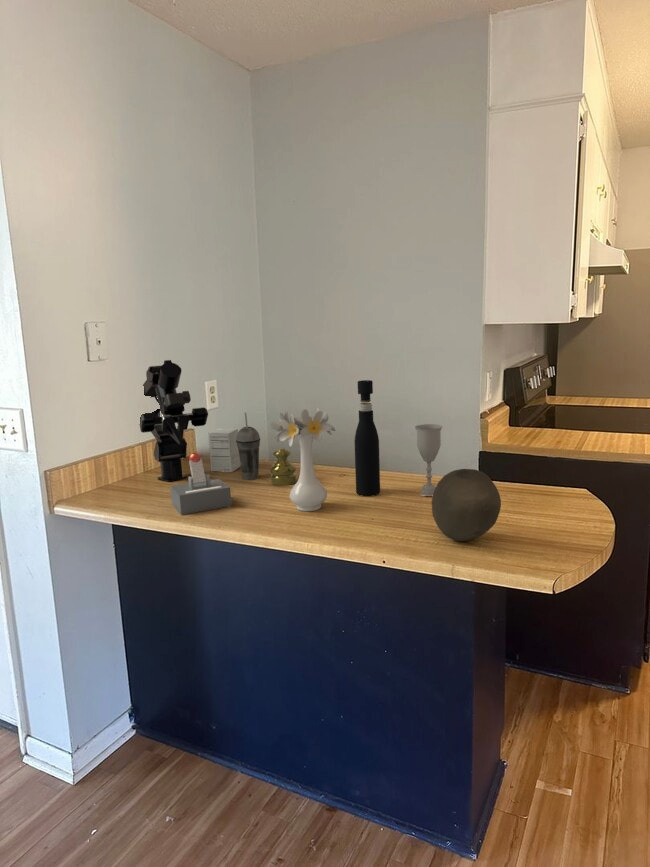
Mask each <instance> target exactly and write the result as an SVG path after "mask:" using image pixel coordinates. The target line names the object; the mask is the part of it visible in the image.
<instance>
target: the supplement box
mask: <svg viewBox="0 0 650 867" xmlns="http://www.w3.org/2000/svg"><path fill="white" fill-rule="evenodd" d="M238 432H239V428H223V427H222V428H218V427H217V428H215V429H214V430H212V431H210V432H208V445H209V446H208V447H209V448H208V449H209V459H210V461H209V462H210V470H211V472H213V471H224V472H223V473H233V472H234V471H236V470H237V469H239V468H241V463H240V457H239V451H238V447H237V442H236V437H237V434H238Z"/></svg>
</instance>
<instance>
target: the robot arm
mask: <svg viewBox="0 0 650 867" xmlns="http://www.w3.org/2000/svg"><path fill="white" fill-rule="evenodd" d="M145 375H146V380H145V381H144V383H143V384H142V385H143V386H144V395H145V396H151V397H150V398H155V400H156V403H157V402H158V403H159V405H160V409H157V410H156V411H154V412H152V413H145V414H142V415H141V417H140V424H139V429H140V432H141V433H151V434H152V436H153V437H154V438H155V440H156V441H155V445H154V449H153V456H154V460H155V461H157V462H158V463H160V464H159V465H160V471H161V472H160V473H161V476H157V478H156V479H157V480H159V481H160V480H161V481H163V482H169V483H170V482H173V481H175V482H176V481H177V480H182V479H185V478H187V477H188V476H187V475H185V474H183V465H182V459H187V448H188V447H187V446H188V443H187V441H186V439H185V438H184V431H187V429H188V427H189V422H191V425H192V426H194V427H202V426H203V427H204V426H205V425H207V419H208V416H209V411H208V409H207V408H206V407H205V406H204V407H194V408H192V410H191V412H189V413H184V412H185V411H186V410H185V409H186V408H185V405H186V404H190V402H191V400H192V399H191V394H190V391H189V390H184V391H182V392H177V388H178V387H179V384H180V378H181V375H182V368H181V366H180V365H178V364H177V363H175V362H172V360H171V359H166V360H164V361H163V364H160V365H152V366H151V365H150V366H149V367H148V368H147V370H146V372H145ZM157 398H158V399H157ZM160 411H161V417H160ZM176 424H177V426H176Z"/></svg>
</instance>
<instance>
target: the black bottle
mask: <svg viewBox="0 0 650 867" xmlns="http://www.w3.org/2000/svg"><path fill="white" fill-rule="evenodd" d="M373 385H374V383H373V380H371V379H369V380H368V379H367V380H365V379H363V380H362V379H361V380H358V381H357V394H358V395H360V403H359V410H358V423H357V427H356V430H355V434H354V464H355V465H354V466H355V467H354V469H355V470H354V471H355V493H357V494H358V496H360V495H363V496H362V497H373V496H372V495H375V496H378V495H380V494H379V493H381V475H380V473H381V472H380V471H381V470H380V469H381V468H380V466H381V465H380V438H379V434H378V429H377V427H376V425H375V421H374V411H373V407H372V406H373V405H372V402H371V400H372V399H371V394H373V393H374V390H373V389H374V388H373ZM357 494H356V495H357ZM377 494H378V495H377Z"/></svg>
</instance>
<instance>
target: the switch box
mask: <svg viewBox="0 0 650 867" xmlns="http://www.w3.org/2000/svg"><path fill="white" fill-rule="evenodd" d="M187 477H188V483H183V484H182V483H181V484H176V485H170V489H169V490H170V499H171V506H174V507H175V508H176V509H175V508H174V507H173V508H174V509H175V510H176V511H177V512H178V514H179V515H181V516H184V515H189V513H190V514H194V512H195V513H200V512H199V511H201V512H206V511H205V510H207V511H211V510H212V511H213V510H217V508H218V509H222V508H223V507H224V508H228V506H229V507H232V495H231V494H232V493H231V492H232V491H231V486H229V485H228V484H226V483H225V482H224V481H222V480H221V479H220V478H216V479H211V476H210V474H208V473H205V479H206V482H204V483H198V484H193V478H192V475H191V476H187ZM183 514H184V515H183Z"/></svg>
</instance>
